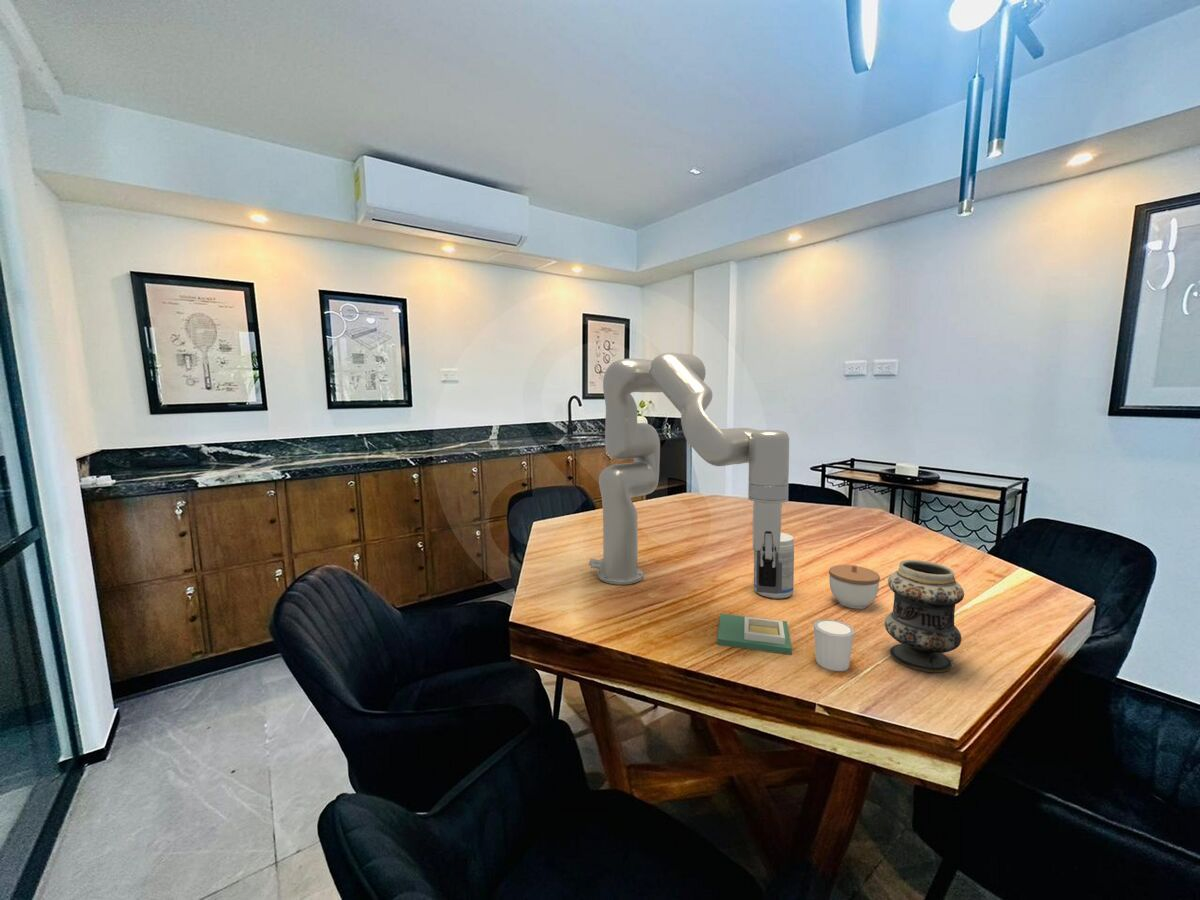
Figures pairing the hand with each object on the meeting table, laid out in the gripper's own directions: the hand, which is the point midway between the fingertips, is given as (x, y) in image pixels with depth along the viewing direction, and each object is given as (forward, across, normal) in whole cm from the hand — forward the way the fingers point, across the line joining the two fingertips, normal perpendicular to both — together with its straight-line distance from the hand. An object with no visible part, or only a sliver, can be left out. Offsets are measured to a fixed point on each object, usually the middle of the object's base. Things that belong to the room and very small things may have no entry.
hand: (766, 580), depth 98 cm
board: (+12, -1, -2) cm, 13 cm away
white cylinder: (+13, +6, +12) cm, 18 cm away
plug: (+2, 0, 0) cm, 2 cm away
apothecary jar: (+13, 0, +28) cm, 31 cm away
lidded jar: (+13, -24, +21) cm, 34 cm away
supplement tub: (+12, -26, +3) cm, 29 cm away
